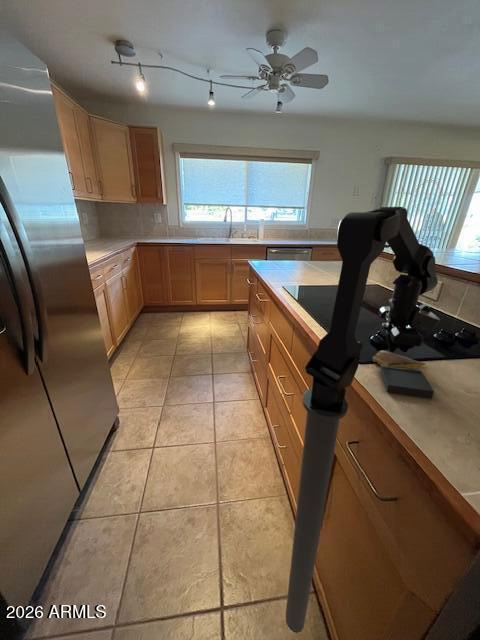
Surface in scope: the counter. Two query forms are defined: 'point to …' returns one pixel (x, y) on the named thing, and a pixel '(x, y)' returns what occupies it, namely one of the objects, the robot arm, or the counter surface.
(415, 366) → the sandwich half
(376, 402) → the counter surface
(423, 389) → the black pad
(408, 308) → the robot arm
